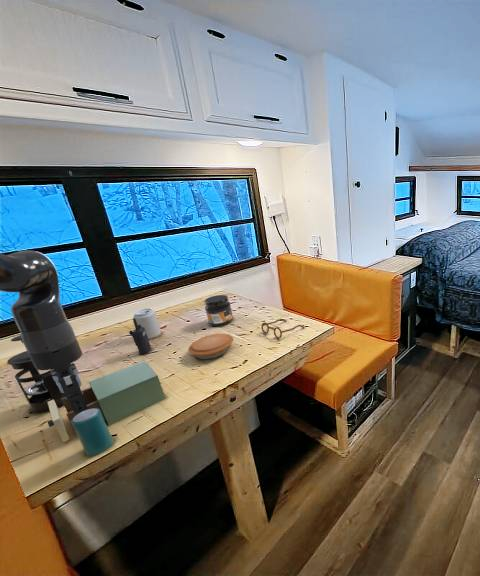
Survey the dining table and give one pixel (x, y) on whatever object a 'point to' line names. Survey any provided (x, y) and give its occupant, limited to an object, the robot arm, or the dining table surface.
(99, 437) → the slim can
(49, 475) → the dining table surface
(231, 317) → the supplement container
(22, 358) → the french press
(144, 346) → the two-way radio
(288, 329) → the glasses
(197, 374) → the dining table surface
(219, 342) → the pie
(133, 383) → the cabinet
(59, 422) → the drawer
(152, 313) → the can
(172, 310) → the dining table surface
